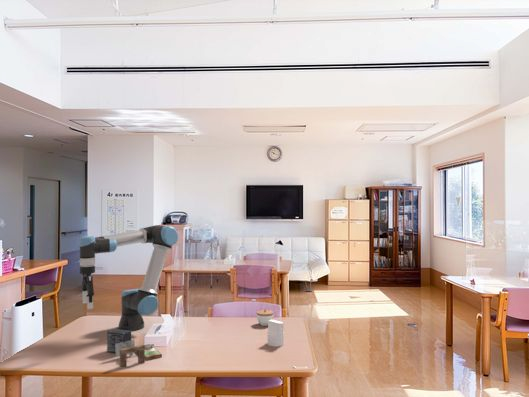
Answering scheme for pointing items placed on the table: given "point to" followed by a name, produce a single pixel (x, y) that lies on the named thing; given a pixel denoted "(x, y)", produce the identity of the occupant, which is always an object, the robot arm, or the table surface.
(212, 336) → the table surface
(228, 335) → the table surface
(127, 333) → the small box
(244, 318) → the table surface
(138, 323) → the robot arm
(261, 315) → the lidded jar
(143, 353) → the gauge bench
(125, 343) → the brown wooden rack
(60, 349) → the table surface
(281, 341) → the white upright cylinder
